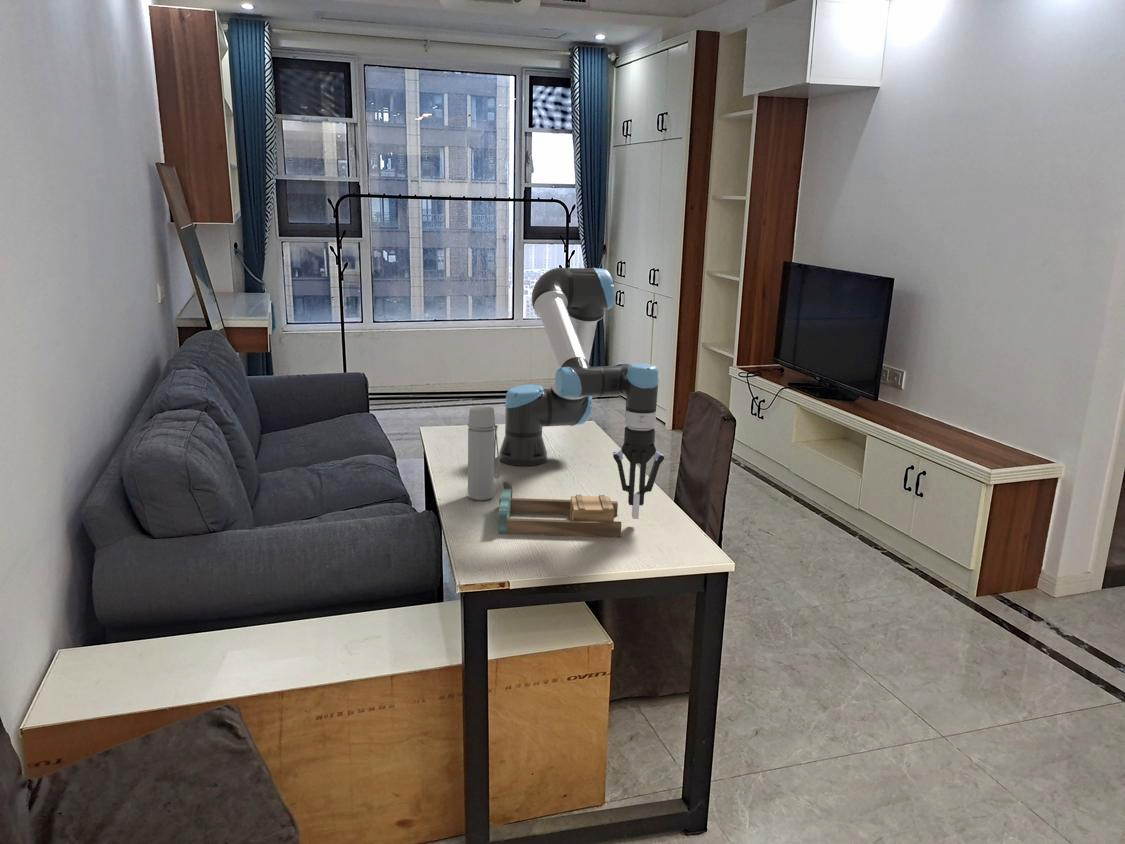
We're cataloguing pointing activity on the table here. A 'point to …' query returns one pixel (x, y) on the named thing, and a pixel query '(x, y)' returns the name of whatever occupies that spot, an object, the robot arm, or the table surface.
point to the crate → (591, 508)
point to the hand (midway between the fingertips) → (635, 516)
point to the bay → (549, 525)
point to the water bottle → (481, 453)
